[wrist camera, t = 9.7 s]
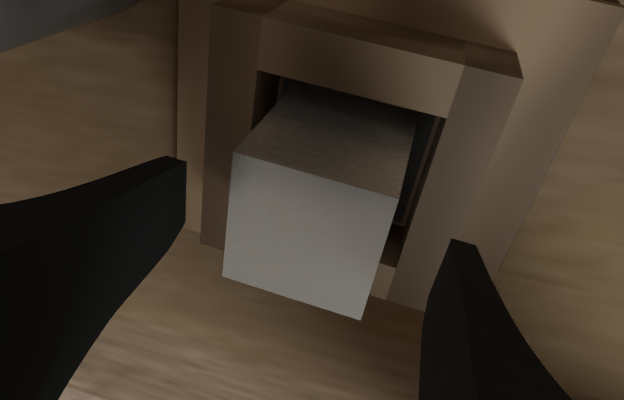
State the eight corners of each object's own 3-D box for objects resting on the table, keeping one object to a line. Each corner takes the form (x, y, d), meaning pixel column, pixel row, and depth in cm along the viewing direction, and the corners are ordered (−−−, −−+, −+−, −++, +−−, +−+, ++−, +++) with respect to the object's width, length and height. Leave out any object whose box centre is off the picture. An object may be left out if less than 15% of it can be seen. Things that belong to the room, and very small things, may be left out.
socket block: (620, 4, 14) (654, 30, 12) (475, 307, 21) (475, 366, 18) (188, -90, 16) (134, -85, 13) (182, 218, 22) (145, 260, 20)
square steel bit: (421, 104, 16) (399, 199, 11) (390, 205, 19) (360, 320, 14) (303, 73, 17) (233, 151, 12) (286, 175, 19) (222, 276, 14)
